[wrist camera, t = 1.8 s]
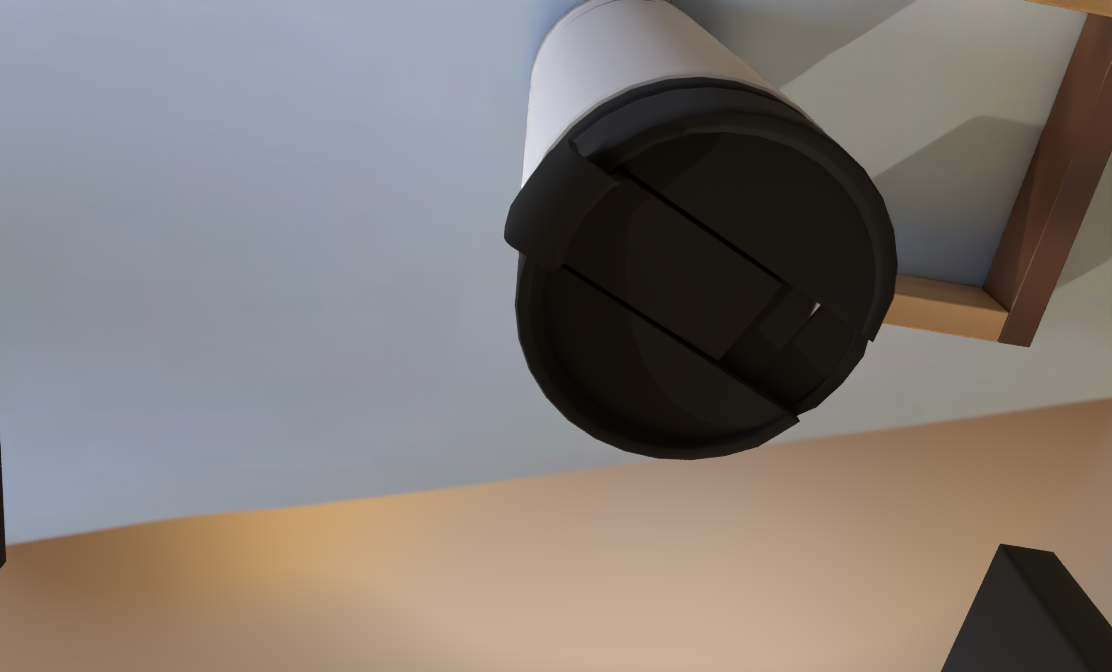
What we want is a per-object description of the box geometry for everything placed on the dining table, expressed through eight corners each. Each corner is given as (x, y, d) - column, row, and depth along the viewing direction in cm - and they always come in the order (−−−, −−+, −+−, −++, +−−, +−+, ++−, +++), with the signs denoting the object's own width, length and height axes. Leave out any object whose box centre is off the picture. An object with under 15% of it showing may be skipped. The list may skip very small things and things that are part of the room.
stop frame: (845, -77, 31) (868, -75, 29) (1137, -19, 32) (1180, -13, 30) (747, 279, 36) (760, 304, 34) (1001, 321, 37) (1029, 347, 35)
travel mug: (593, -58, 31) (660, 4, 13) (751, 63, 33) (1008, 270, 14) (486, 103, 33) (413, 351, 15) (639, 209, 35) (741, 551, 16)
